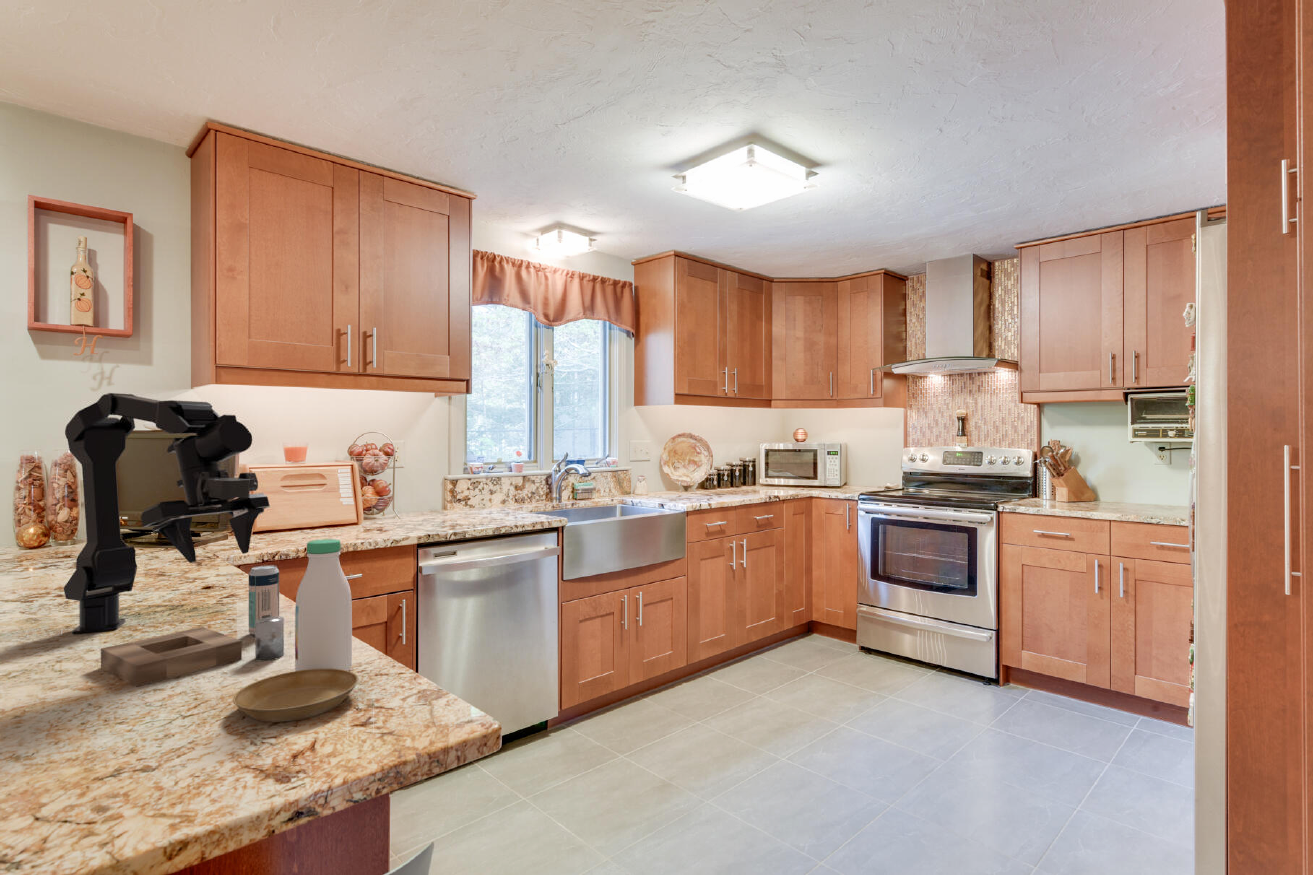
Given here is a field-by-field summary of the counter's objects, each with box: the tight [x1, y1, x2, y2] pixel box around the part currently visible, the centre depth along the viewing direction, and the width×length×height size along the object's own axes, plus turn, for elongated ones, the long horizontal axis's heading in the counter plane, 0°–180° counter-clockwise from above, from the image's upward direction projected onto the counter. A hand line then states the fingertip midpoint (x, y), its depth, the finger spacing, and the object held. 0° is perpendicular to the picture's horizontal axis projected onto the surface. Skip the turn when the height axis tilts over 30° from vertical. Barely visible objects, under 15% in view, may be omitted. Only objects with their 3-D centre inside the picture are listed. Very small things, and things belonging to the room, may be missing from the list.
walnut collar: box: [100, 626, 243, 687], centre depth 104 cm, size 14×14×3 cm
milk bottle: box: [294, 538, 353, 671], centre depth 100 cm, size 8×8×20 cm
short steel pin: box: [254, 616, 285, 662], centre depth 108 cm, size 4×4×6 cm
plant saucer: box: [232, 668, 360, 723], centre depth 88 cm, size 15×15×3 cm
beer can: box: [248, 564, 280, 637], centre depth 121 cm, size 5×5×12 cm
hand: (220, 557), depth 112 cm, fingers open, 9 cm apart
